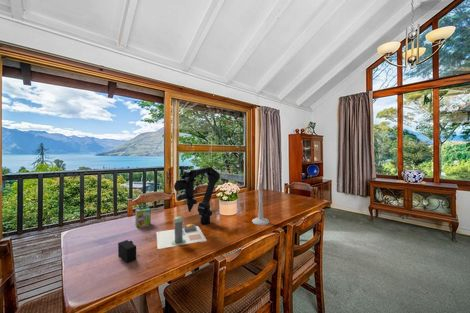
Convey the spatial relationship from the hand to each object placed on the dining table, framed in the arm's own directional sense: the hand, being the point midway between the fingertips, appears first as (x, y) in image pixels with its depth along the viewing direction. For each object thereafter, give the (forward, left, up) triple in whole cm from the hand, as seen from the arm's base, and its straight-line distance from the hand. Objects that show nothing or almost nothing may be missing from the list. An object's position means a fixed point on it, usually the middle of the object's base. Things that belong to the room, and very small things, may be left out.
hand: (189, 211), depth 131 cm
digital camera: (+34, +22, -13) cm, 43 cm away
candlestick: (-52, +5, -13) cm, 54 cm away
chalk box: (+29, -22, -13) cm, 39 cm away
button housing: (0, 0, -12) cm, 12 cm away
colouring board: (+7, +8, -12) cm, 16 cm away
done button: (0, 0, -12) cm, 12 cm away
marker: (+9, +16, -12) cm, 22 cm away
